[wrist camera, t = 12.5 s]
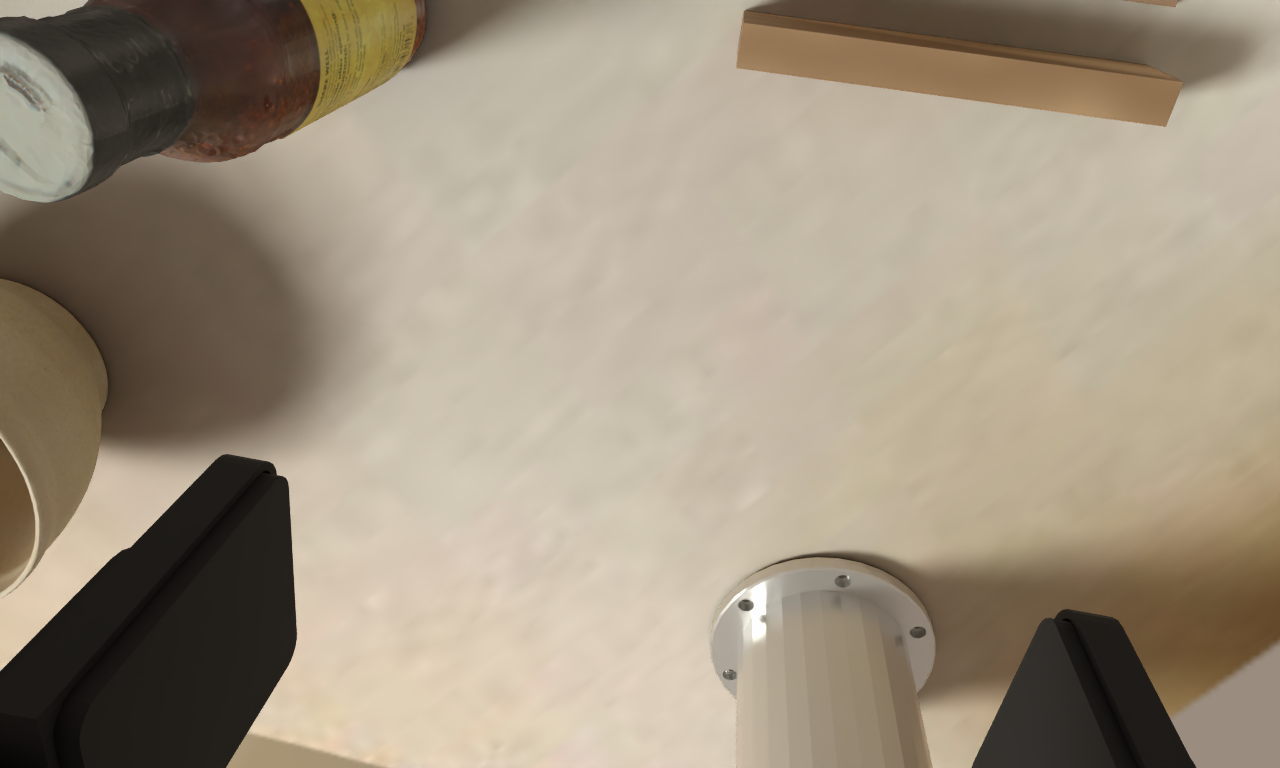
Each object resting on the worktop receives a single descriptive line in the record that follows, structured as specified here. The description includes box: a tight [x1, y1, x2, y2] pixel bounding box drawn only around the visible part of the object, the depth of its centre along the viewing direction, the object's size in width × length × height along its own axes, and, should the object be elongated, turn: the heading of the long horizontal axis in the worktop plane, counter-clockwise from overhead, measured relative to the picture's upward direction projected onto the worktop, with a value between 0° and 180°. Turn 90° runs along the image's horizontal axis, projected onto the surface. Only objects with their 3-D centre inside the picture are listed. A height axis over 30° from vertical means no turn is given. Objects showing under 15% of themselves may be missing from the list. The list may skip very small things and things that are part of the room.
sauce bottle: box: [0, 0, 426, 203], centre depth 29 cm, size 6×6×20 cm
